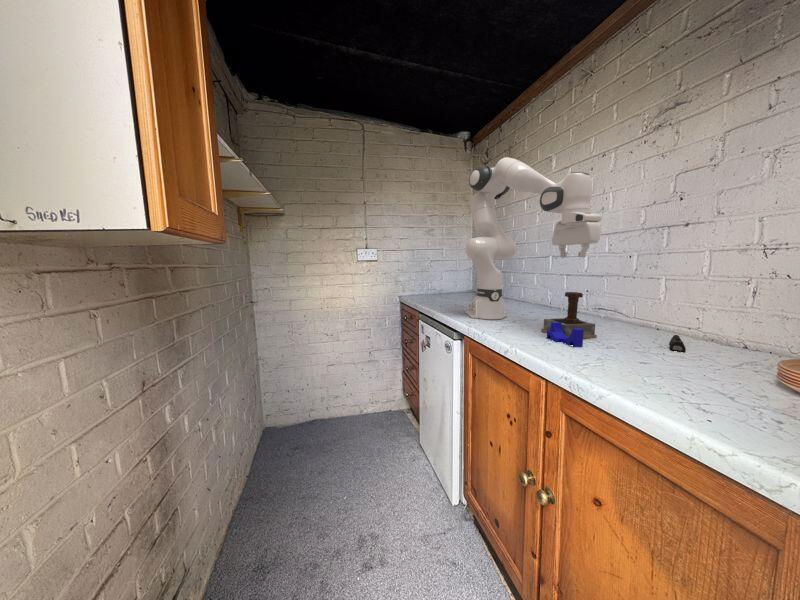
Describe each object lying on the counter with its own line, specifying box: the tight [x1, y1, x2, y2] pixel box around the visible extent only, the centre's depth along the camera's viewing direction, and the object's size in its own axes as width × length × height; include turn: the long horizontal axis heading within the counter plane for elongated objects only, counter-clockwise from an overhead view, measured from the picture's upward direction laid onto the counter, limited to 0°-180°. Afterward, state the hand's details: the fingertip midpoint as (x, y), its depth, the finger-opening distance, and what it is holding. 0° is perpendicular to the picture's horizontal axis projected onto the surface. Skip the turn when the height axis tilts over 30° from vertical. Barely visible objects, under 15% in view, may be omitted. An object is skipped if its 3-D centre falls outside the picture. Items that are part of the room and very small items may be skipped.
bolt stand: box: [541, 317, 598, 340], centre depth 115 cm, size 13×13×5 cm
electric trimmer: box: [668, 334, 687, 353], centre depth 100 cm, size 4×16×3 cm, turn 139°
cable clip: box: [546, 322, 584, 348], centre depth 105 cm, size 12×4×6 cm, turn 10°
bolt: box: [563, 291, 584, 324], centre depth 113 cm, size 6×5×15 cm
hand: (572, 257), depth 113 cm, fingers open, 8 cm apart
